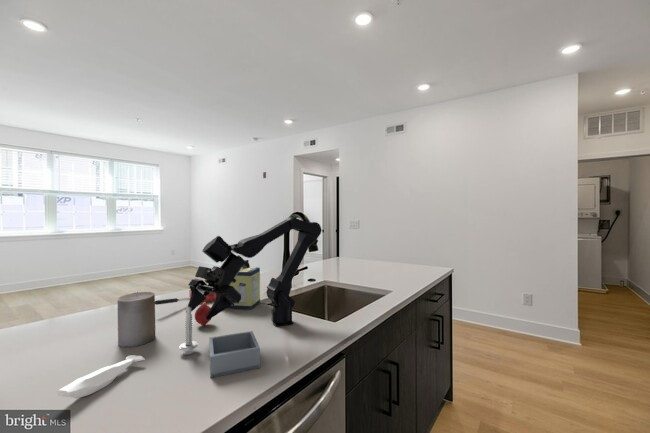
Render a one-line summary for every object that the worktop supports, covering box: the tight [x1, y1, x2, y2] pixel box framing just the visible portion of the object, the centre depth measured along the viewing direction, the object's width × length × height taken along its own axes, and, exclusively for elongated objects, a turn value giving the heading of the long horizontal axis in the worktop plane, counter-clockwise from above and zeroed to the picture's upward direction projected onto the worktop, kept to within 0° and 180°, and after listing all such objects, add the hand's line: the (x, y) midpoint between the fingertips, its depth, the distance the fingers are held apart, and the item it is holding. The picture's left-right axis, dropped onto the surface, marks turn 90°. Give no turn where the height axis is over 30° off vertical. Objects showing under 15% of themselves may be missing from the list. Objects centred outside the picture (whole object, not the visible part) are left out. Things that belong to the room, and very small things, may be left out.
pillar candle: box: [116, 291, 156, 348], centre depth 88 cm, size 10×10×15 cm
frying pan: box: [155, 289, 216, 306], centre depth 123 cm, size 32×13×6 cm, turn 167°
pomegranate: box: [194, 302, 212, 327], centre depth 100 cm, size 6×6×8 cm
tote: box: [208, 330, 261, 379], centre depth 76 cm, size 12×12×5 cm
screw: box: [178, 306, 199, 356], centre depth 80 cm, size 13×5×5 cm
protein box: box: [227, 266, 261, 311], centre depth 123 cm, size 10×16×16 cm
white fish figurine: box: [56, 354, 146, 399], centre depth 65 cm, size 6×18×4 cm, turn 170°
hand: (196, 316), depth 82 cm, fingers open, 9 cm apart
